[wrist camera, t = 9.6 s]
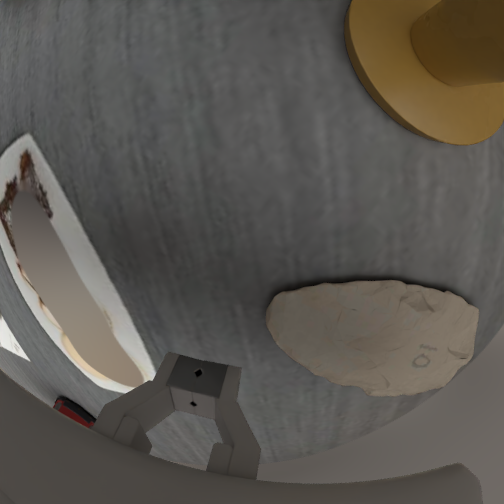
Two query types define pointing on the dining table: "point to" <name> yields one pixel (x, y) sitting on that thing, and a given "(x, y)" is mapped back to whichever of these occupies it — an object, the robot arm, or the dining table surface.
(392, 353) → the stone
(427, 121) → the candle stand
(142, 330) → the dining table surface
